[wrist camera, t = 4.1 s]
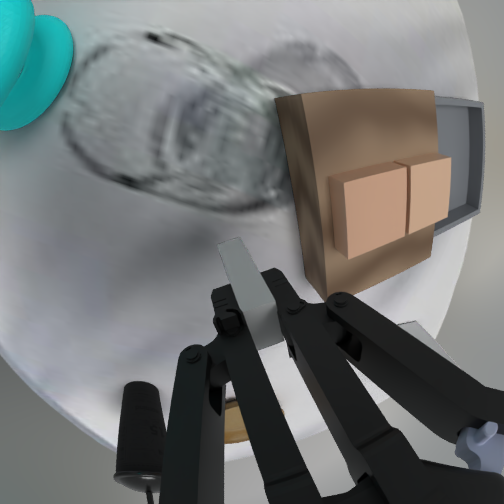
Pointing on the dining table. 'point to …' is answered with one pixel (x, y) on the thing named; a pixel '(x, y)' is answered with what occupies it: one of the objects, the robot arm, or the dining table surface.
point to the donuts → (30, 62)
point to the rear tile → (426, 189)
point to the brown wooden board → (349, 158)
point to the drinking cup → (141, 439)
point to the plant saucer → (234, 424)
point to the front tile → (368, 207)
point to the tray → (461, 156)
